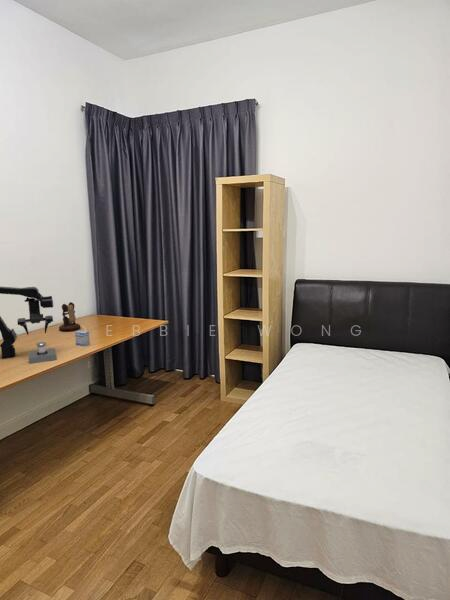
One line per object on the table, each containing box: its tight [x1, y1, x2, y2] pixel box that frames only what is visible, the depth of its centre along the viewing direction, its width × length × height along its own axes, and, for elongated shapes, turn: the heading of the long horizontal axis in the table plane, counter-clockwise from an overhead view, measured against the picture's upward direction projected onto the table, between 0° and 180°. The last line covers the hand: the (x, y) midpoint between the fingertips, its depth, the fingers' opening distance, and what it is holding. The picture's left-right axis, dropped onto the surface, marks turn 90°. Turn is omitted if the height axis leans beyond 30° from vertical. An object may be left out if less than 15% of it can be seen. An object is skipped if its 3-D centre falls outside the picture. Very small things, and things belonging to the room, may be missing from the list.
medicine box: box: [74, 330, 91, 347], centre depth 251 cm, size 8×4×9 cm, turn 69°
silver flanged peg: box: [35, 341, 47, 355], centre depth 226 cm, size 5×5×9 cm
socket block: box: [28, 347, 57, 364], centre depth 226 cm, size 14×14×3 cm
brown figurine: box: [58, 301, 81, 332], centre depth 288 cm, size 15×15×20 cm
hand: (36, 334), depth 232 cm, fingers open, 9 cm apart
